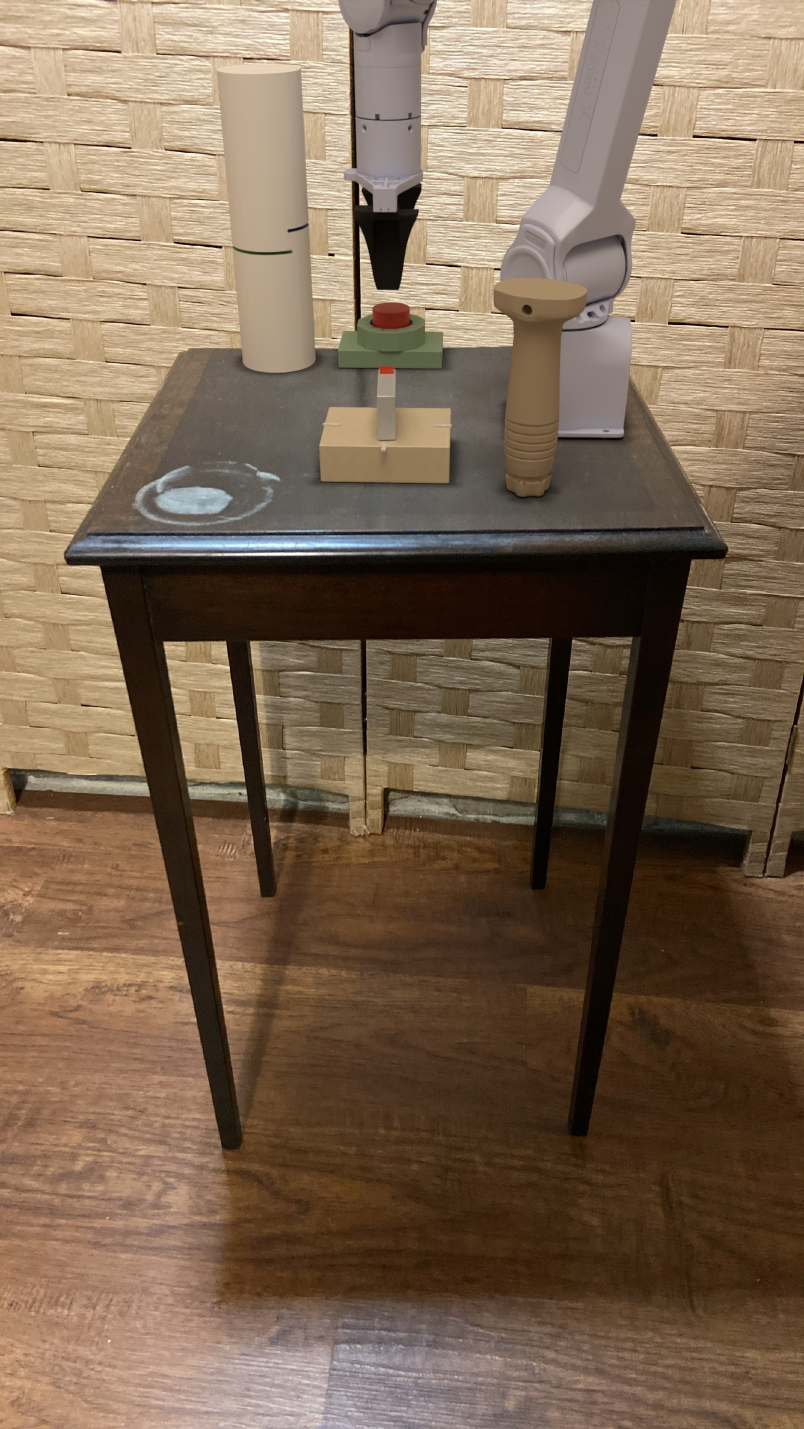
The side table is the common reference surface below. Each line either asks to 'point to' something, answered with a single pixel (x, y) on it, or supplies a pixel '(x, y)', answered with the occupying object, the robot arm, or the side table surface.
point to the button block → (391, 346)
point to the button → (391, 315)
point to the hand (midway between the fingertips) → (390, 277)
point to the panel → (386, 446)
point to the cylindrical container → (268, 213)
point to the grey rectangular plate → (386, 403)
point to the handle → (534, 375)
